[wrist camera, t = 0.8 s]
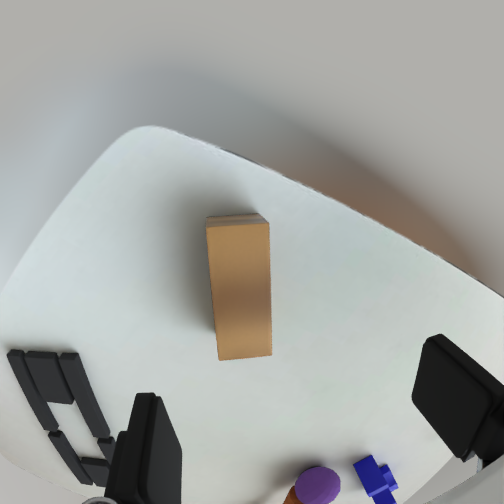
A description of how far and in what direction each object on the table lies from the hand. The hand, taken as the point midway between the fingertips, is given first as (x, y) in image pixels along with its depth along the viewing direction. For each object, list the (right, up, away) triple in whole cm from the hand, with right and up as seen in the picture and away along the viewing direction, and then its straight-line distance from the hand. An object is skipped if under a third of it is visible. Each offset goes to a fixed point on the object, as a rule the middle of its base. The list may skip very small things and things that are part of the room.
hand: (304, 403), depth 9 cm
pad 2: (-22, -22, +20) cm, 36 cm away
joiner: (-3, +3, +15) cm, 16 cm away
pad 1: (-22, -10, +16) cm, 29 cm away
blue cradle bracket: (+17, -29, +27) cm, 44 cm away
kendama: (+3, -30, +26) cm, 40 cm away
